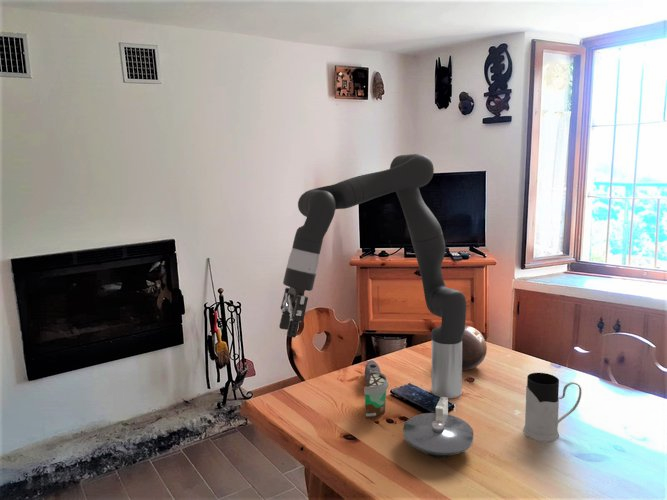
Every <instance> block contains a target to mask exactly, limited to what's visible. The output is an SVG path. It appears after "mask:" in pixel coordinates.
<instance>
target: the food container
mask: <svg viewBox="0 0 667 500" xmlns="http://www.w3.org/2000/svg"><path fill="white" fill-rule="evenodd" d="M380 372H381V371H380ZM380 372H377V371H370V376H369V379H368V382H367V384H366V385H365V386H364V395H363V396H364V406H365V407H364V408H365V419H369V420H372V419H377V418H381V417H382V416H384V414H385V413H386V401H387V400H386V399H387V390H388V388H389V387H390V385H389V381H388V378H387V376H386V375H385V374H384V373H382V372H381V373H380Z"/></svg>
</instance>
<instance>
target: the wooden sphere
mask: <svg viewBox="0 0 667 500" xmlns="http://www.w3.org/2000/svg"><path fill="white" fill-rule="evenodd" d="M486 355H487V341H486V339H485V337H484V336H483V334H482V333H481V332H480V331H479V330H477V328H474V327H473V326H471V325H470V326H469V325H465V330H464V333H463V336H462V370H471V369H475V368H476V367H478V366H480V364H482V362H483V361H484V359H485V357H486Z"/></svg>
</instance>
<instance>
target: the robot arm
mask: <svg viewBox="0 0 667 500" xmlns="http://www.w3.org/2000/svg"><path fill="white" fill-rule="evenodd" d="M434 170H435V169H434V164H433V162H432V160H431V159H430V158H429V157H428V156H427V155H424V154H420V153H413V154H412V153H410V154H402V155H397V156H395V157H394V158H393V159H392V161H391V162H390V167H389V168H388V169H385V170H380V171H375V172H370V173H364V174H359V175H357V176H355V177H350V178H348V179H345V180H342V181H340V182H337V183H333V184H331V185H325V186H320V187H316V188H312V189H309V190H307V191H305V192H303V193H302V194H301V195H300V197H299V198H298V201H297V208H298V211H299V212H300V213H301V215H302V216H304V217H306V219H305V222H304V223H303V225H301V226H299V227H298V228H297V229H296V231H295V235H294V238H293V239H294V240H293V243H292V248H291V251H290V253H289V256H288V260H287V264H286V268H285V273H284V277H283V282H282V283H283V285H284V286H286V287H285V288H284V294H283V297H282V301H281V304H280V311H281V318H280V321H279V329H281V330H287V332H286V336H287V337H290V338H296V337H297V333H298V329H299V326H300V323H302V322H304V319H305V313H306V309H307V304H308V301H309V297H308V296H306V295H305V291H308V292H310V291H311V292H312V291H313V289H314V285H315V282H316V276H317V271H318V267H319V263H320V255H321V251H322V245H323V239H324V238H325V236H326V234H327V232H328V230H329V228H330V225H331V223H332V222H333V218H334V216H335V213H336V210H345V209H350V208H352V207H355V206H358V205H361V204H363V203H365V202H369V201H371V200H374V199H376V198H379V197H382V196H385V195H388V194H391V193H396V196H397V199H398V201H399V203H400V206H401V208H402V212H403V215H404V219H405V222H406V225H407V229H408V232H409V237H410V240H411V244H412V247H413V251H414V253H415V254H414V255H415V258H416V262H417V266H418V269H419V273H420V276H421V281H422V288H423V295H424V299H425V300H424V301H425V304H426V308H427V310H428V311H429V312H430V313H431V314H432V315H434V316H437V317H440V318H441V322H440V323H441V325H440V326H437V327H435V328H433V329H432V330H431V393H432V394H433V395H435V396H436V397H439V398H440V397H441V396H442V397H448V399H455V398H458V397H460V396H461V395H462V393H463V391H462V390H463V389H462V388H463V369H462V336H463V333H464V330H465V326H466V320H467V319H466V318H467V301H466V300H467V299H466V297H465V295H464V294H463V292H462V291H460V290H457V289H453V288H450V287H447V286H446V284H445V281H444V278H443V273H442V265H443V261H444V258H445V256H446V255H445V254H446V242H445V238H444V233H443V230H442V226H441V224H440V223H439V221H438V219H437V217H436V216H435V214H434V213H433V212H432V211H431V209H430V208H429V206H427V204H426V203H425V201H424V199H423V197H422V194H421V191H420V188H422V187H424V186H427V185H428V184H429V183H430V181H431V180H432V179H433V176H434V173H435V171H434Z"/></svg>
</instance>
